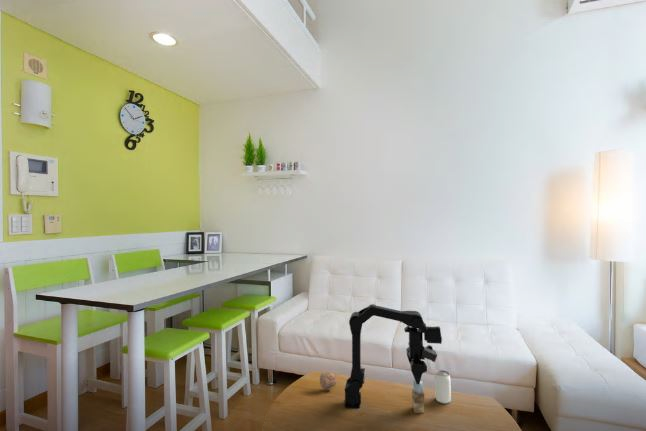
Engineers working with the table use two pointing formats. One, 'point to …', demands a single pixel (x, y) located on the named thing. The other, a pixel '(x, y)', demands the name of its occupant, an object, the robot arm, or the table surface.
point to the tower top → (418, 397)
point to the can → (442, 387)
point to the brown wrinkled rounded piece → (327, 380)
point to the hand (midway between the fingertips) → (416, 378)
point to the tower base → (418, 407)
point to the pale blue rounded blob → (418, 387)
